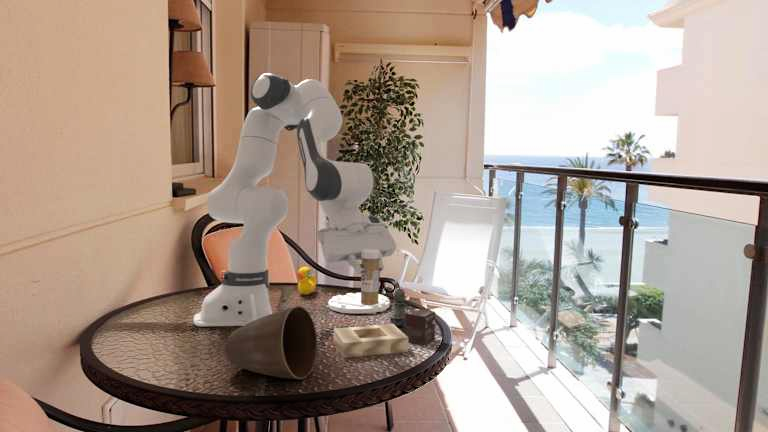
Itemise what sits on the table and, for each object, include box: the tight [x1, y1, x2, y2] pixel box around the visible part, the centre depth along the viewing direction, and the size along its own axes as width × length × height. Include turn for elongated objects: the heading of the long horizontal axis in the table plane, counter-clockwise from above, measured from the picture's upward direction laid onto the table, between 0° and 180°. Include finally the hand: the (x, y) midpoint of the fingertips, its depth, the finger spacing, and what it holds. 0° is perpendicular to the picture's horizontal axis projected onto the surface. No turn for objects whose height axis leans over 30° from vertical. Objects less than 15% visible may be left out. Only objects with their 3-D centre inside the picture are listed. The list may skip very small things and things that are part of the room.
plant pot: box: [225, 305, 318, 380], centre depth 110 cm, size 15×15×16 cm
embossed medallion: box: [327, 292, 390, 315], centre depth 167 cm, size 20×20×3 cm
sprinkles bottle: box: [360, 249, 380, 305], centre depth 126 cm, size 5×5×14 cm
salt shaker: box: [388, 285, 406, 332], centre depth 143 cm, size 6×6×12 cm
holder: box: [333, 323, 409, 359], centre depth 128 cm, size 16×12×4 cm
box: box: [404, 308, 436, 345], centre depth 134 cm, size 6×6×7 cm
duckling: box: [296, 266, 317, 296], centre depth 184 cm, size 11×5×10 cm, turn 160°
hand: (371, 270), depth 126 cm, fingers closed on sprinkles bottle, 4 cm apart
